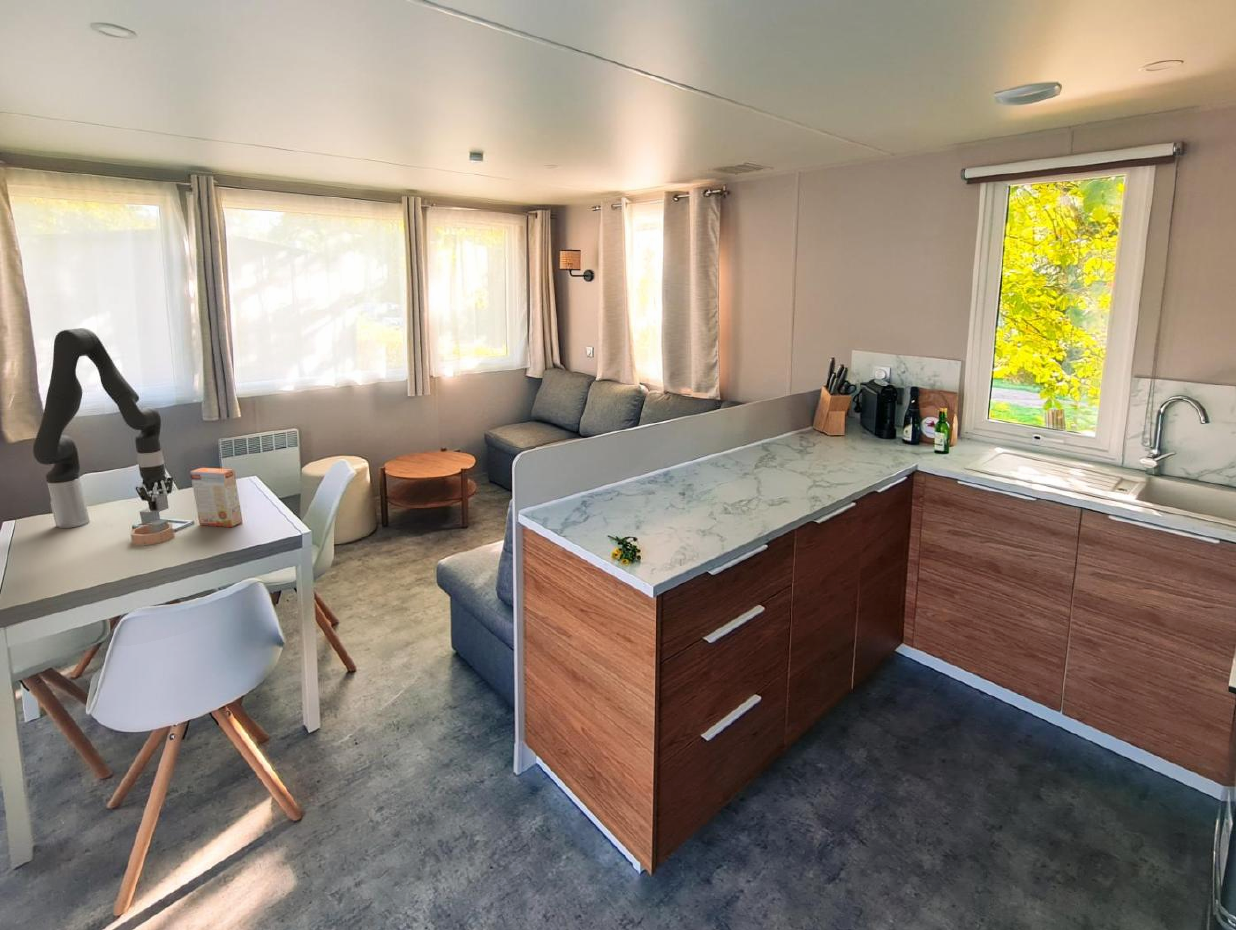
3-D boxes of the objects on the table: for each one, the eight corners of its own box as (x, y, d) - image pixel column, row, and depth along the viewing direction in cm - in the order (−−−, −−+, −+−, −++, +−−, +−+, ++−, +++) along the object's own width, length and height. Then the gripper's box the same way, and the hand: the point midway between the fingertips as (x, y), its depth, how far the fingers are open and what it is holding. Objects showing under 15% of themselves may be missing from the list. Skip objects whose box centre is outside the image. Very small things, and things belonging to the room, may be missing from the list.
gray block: (142, 525, 241) (139, 511, 239) (151, 521, 244) (149, 507, 243) (151, 526, 240) (148, 512, 238) (160, 522, 244) (158, 508, 242)
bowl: (124, 543, 225) (122, 533, 224) (154, 530, 237) (152, 521, 236) (153, 546, 223) (151, 536, 222) (182, 533, 234) (180, 524, 233)
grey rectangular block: (150, 538, 228) (147, 523, 226) (160, 534, 231) (157, 519, 230) (160, 539, 227) (157, 524, 225) (170, 535, 231) (167, 520, 229)
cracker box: (243, 522, 245) (235, 468, 239) (231, 528, 239) (222, 473, 234) (211, 519, 248) (202, 466, 242) (198, 525, 242) (189, 471, 236)
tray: (132, 528, 239) (131, 525, 238) (153, 519, 247) (153, 517, 247) (173, 532, 235) (173, 529, 235) (194, 523, 244) (193, 520, 243)
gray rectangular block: (150, 510, 238) (147, 496, 237) (159, 507, 242) (157, 493, 240) (159, 511, 237) (156, 497, 236) (168, 508, 241) (166, 494, 240)
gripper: (159, 457, 242) (167, 501, 247) (124, 467, 229) (133, 513, 233) (176, 459, 241) (183, 503, 245) (142, 469, 227) (150, 515, 232)
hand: (159, 508), depth 239 cm, fingers closed on gray rectangular block, 4 cm apart
